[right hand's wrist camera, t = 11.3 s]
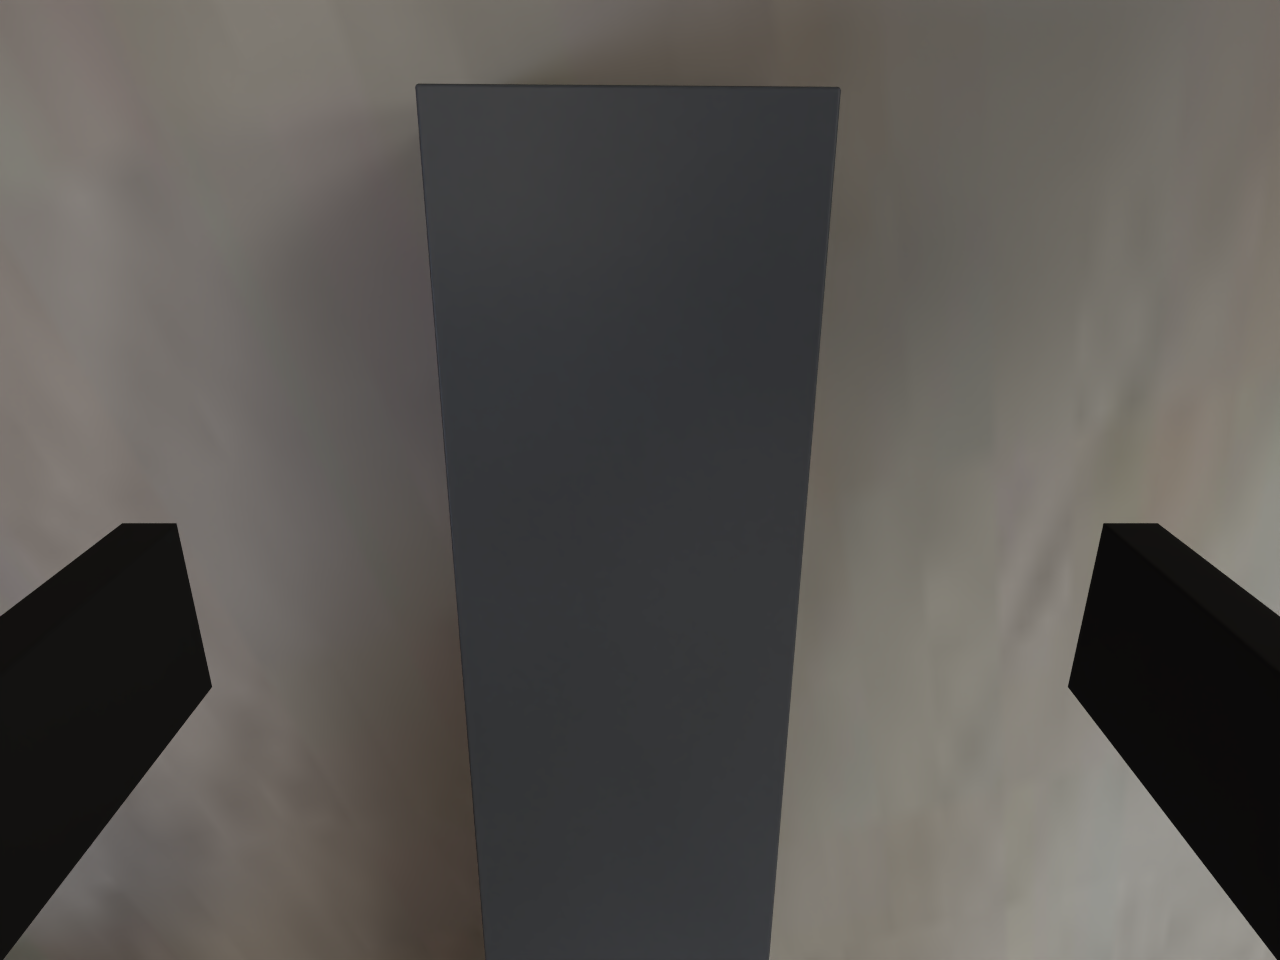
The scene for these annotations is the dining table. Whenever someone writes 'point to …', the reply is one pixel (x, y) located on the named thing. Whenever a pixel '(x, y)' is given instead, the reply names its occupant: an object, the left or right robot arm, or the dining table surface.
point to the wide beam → (627, 493)
